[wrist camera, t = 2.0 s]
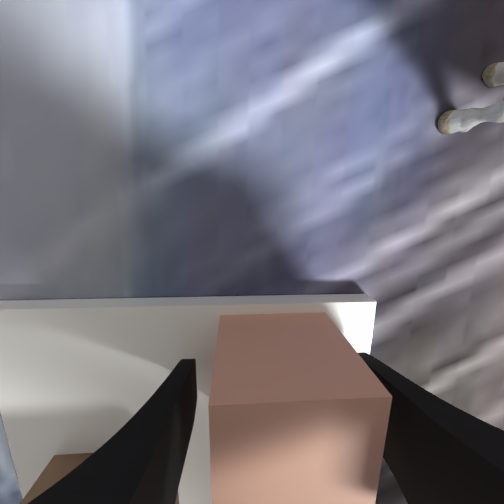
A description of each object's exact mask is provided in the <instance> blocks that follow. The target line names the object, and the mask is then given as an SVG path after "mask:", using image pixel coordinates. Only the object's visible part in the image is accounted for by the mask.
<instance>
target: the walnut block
mask: <svg viewBox="0 0 504 504" xmlns="http://www.w3.org/2000/svg"><path fill="white" fill-rule="evenodd" d="M92 454H93V453H80V454H64V455H54V456H53V458H52V459H51V460H50V462H49V463H48V465H47V466H46V467H45V469H44V470H43V472H42V473H41V474H40V476H39V477H38V479H37V480H36V482H35V483H34V484H33V486H32V487H31V489H30V490H29V491H28V493H27V494H26V496H25V497H24V499H23V500H22V501H21V503H20V504H27V503H29V502H30V501H32V500H33V499H35V498H36V497H37V496H39V495H40V494H42V493H43V492H44V491H46V490H47V489H48V488H50V487H51V486H52V485H54V484H55V483H56V482H58V481H59V480H61V479H62V478H63V477H64V476H66V475H67V474H68V473H70V472H71V471H72V470H73V469H75V468H76V467H77V466H79V465H80V464H81V463H82V462H83V461H85V460H86V459H87V458H88V457H89V456H91V455H92ZM175 504H179V495H178V492H177V497H176V502H175Z"/></svg>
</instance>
